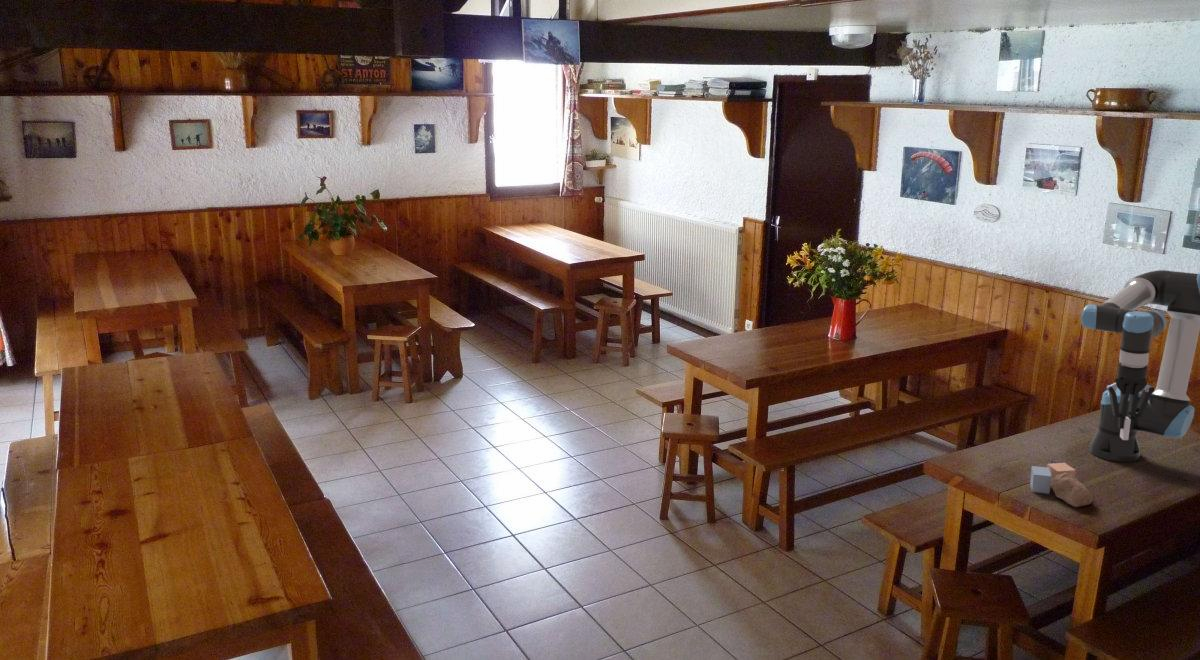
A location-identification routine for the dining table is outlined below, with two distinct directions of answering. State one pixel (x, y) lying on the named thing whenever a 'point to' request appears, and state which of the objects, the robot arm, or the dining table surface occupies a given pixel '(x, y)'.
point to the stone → (1071, 490)
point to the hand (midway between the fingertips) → (1123, 438)
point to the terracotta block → (1060, 469)
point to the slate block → (1040, 479)
